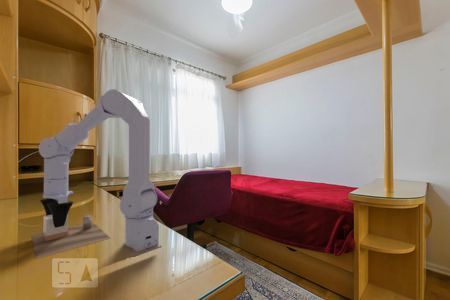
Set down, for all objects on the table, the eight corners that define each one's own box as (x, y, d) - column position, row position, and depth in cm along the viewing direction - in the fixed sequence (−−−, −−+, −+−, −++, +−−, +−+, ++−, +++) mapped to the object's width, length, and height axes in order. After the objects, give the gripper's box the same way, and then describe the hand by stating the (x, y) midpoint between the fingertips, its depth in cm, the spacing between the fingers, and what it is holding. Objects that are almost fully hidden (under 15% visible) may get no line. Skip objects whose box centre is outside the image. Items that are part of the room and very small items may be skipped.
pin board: (110, 242, 59) (111, 224, 59) (35, 263, 47) (36, 241, 47) (92, 225, 72) (93, 211, 73) (31, 238, 61) (31, 221, 61)
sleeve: (68, 235, 61) (68, 215, 61) (45, 240, 57) (46, 219, 57) (64, 231, 64) (64, 212, 64) (42, 236, 60) (43, 216, 60)
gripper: (80, 179, 59) (79, 225, 59) (65, 175, 68) (65, 215, 68) (49, 181, 54) (48, 232, 54) (37, 177, 63) (37, 221, 62)
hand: (55, 223), depth 60 cm, fingers open, 7 cm apart
